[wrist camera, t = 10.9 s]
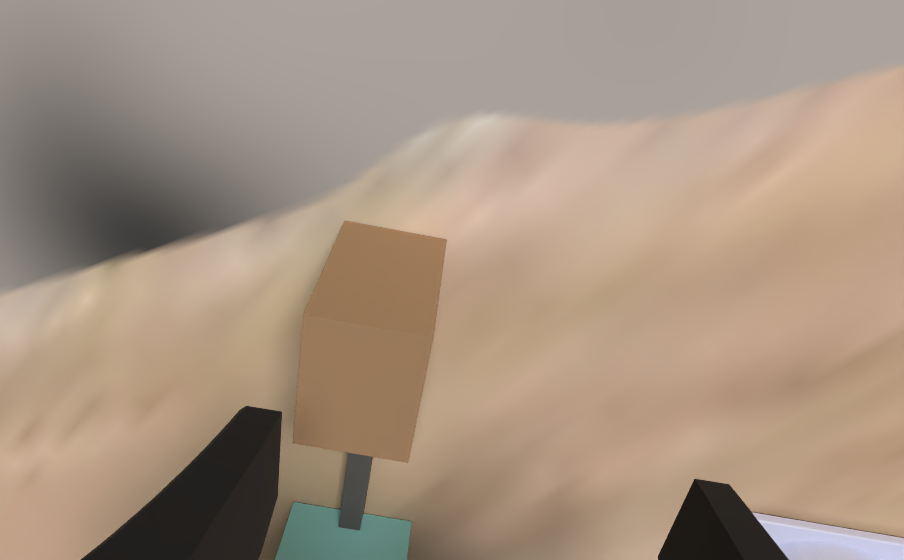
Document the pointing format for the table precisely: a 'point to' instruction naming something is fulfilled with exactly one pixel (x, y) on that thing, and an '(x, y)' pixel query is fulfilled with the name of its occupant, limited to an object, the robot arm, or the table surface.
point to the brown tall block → (363, 381)
